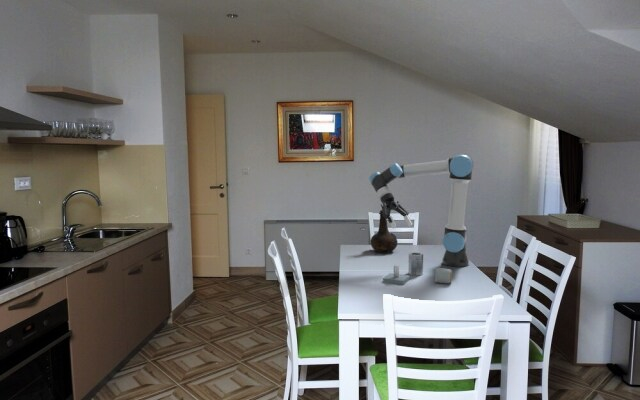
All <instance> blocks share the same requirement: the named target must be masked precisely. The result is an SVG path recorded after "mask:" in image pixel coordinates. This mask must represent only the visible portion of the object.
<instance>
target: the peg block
mask: <svg viewBox="0 0 640 400" xmlns="http://www.w3.org/2000/svg"><path fill="white" fill-rule="evenodd" d="M410 280H411V275H410V274H408V275H407V274H400V265H398V264H394V266H393V273H388V274H387V275H385V276H384V277H383V278H382V283H387V284H394V285H402V286H404V285H406V283H408V282H409V281H410Z"/></svg>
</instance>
